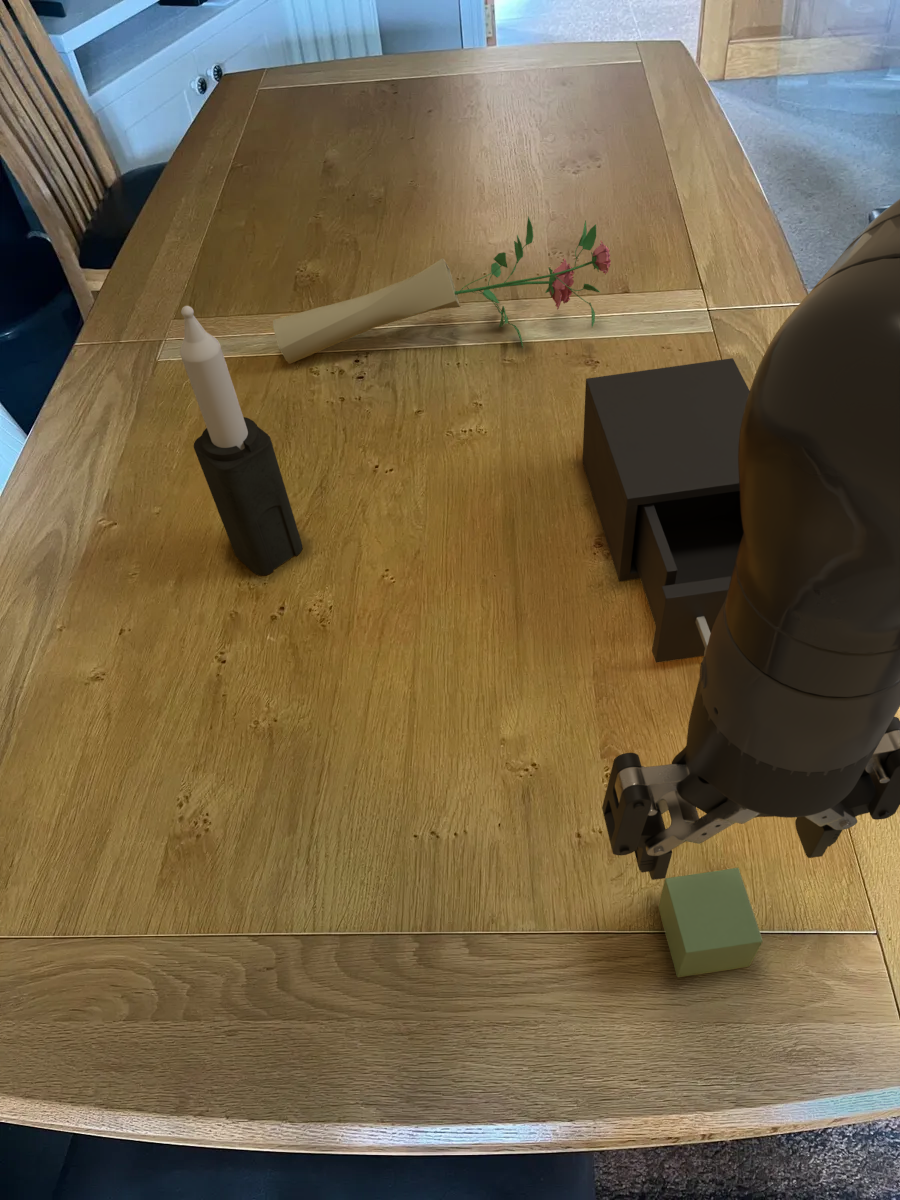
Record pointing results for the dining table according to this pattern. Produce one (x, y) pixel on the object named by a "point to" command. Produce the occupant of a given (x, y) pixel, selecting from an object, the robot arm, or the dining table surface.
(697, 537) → the drawer
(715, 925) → the block
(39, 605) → the dining table surface
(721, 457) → the cabinet
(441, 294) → the flower vase
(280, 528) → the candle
